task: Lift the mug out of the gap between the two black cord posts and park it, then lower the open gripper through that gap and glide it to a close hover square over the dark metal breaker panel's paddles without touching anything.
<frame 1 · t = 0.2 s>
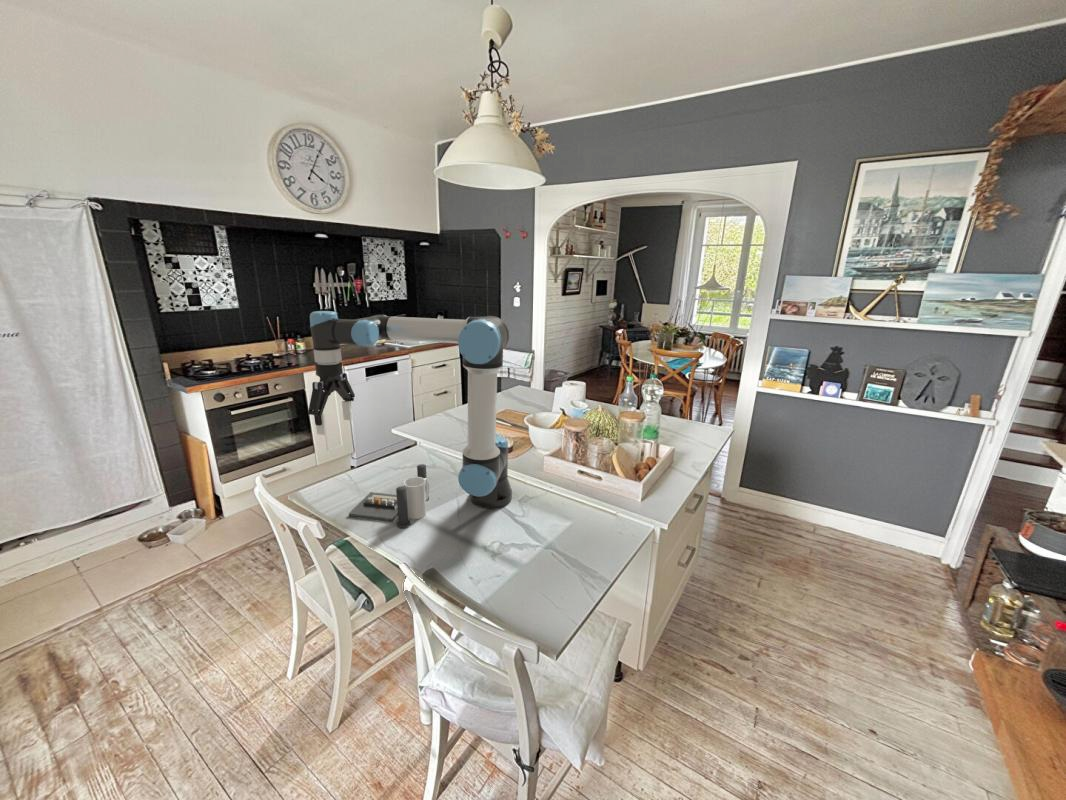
hand: (335, 426, 136), 28 cm above the table, fingers open, 13 cm apart
mug: (419, 512, 140), on the table
cord post 1: (423, 499, 148), on the table
breaker panel: (381, 507, 142), on the table
cord post 2: (403, 524, 133), on the table
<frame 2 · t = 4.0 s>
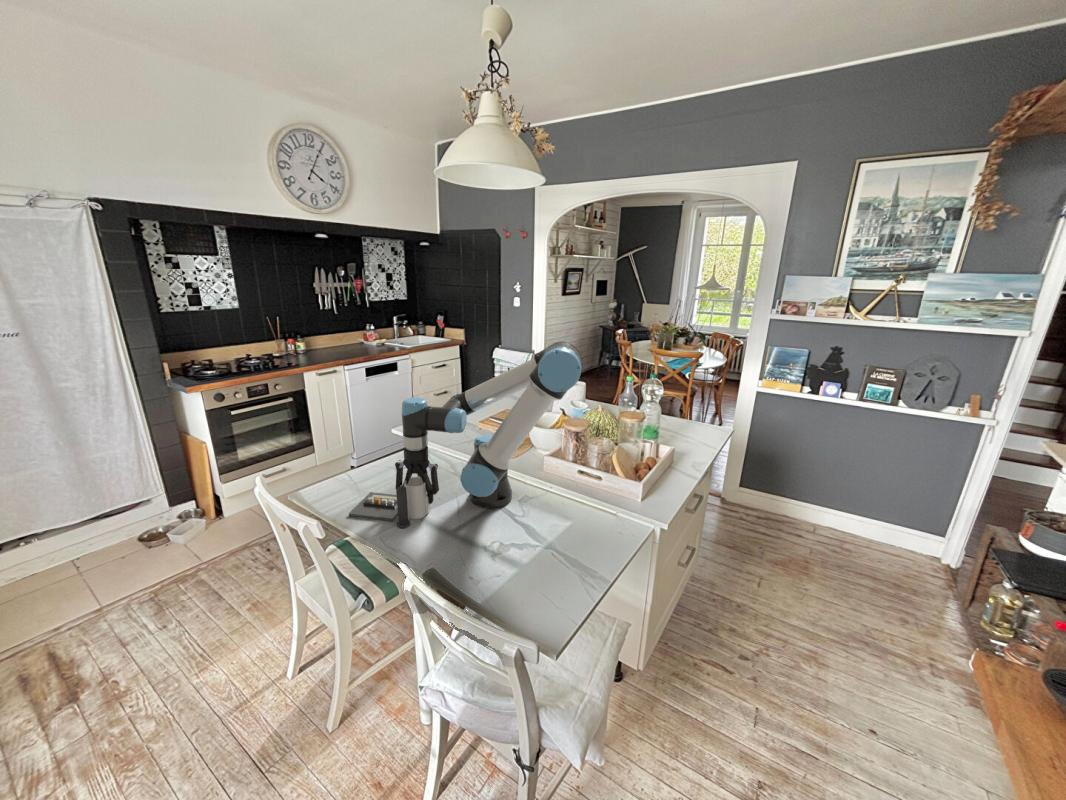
hand: (418, 509, 140), 1 cm above the table, fingers closed on mug, 6 cm apart
mug: (419, 512, 140), on the table, touching gripper
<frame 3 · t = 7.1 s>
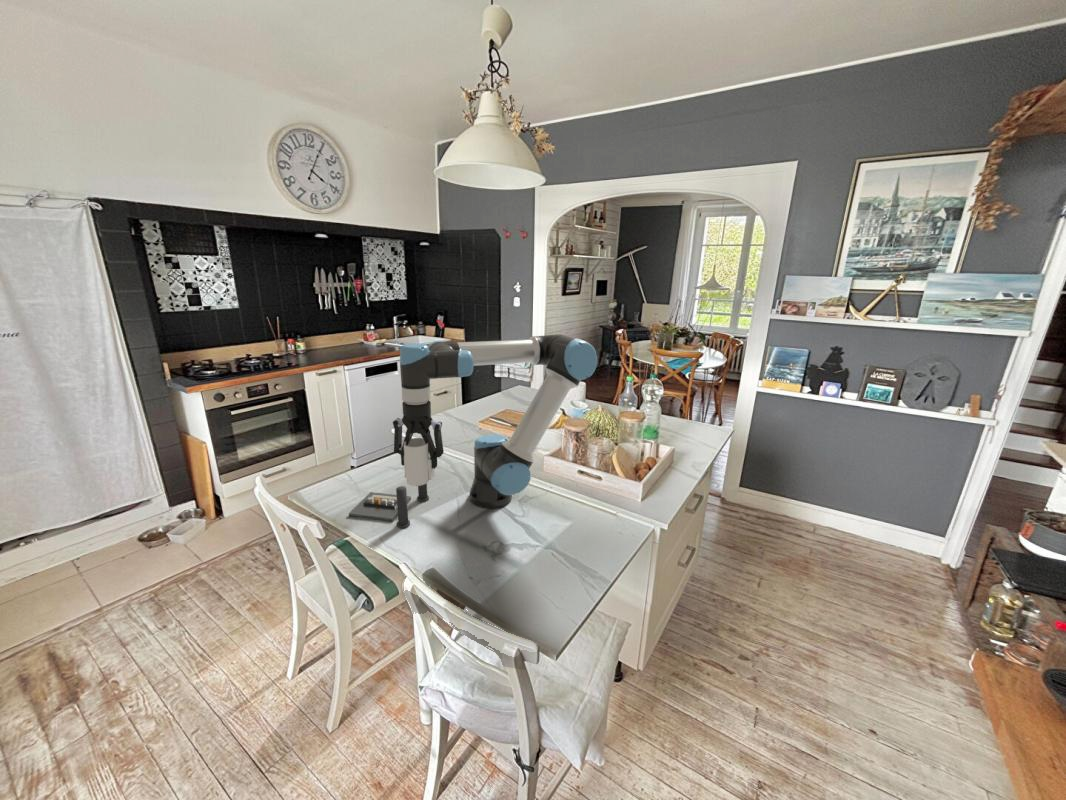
hand: (419, 476, 122), 20 cm above the table, fingers closed on mug, 6 cm apart
mug: (421, 479, 123), point 19 cm above the table, touching gripper
when the fingers open (2 cm above the table, at t = 10.0 s): mug drops 1 cm, on the table.
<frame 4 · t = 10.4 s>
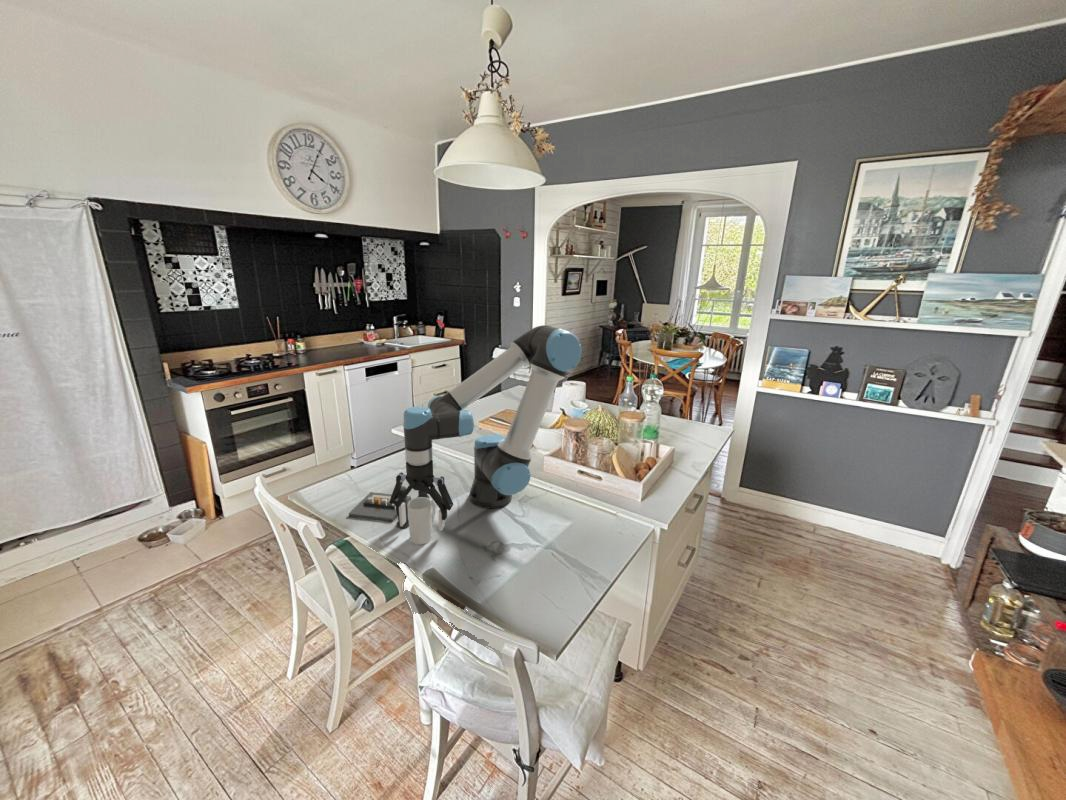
hand: (422, 526, 127), 3 cm above the table, fingers open, 11 cm apart
mug: (424, 536, 128), on the table
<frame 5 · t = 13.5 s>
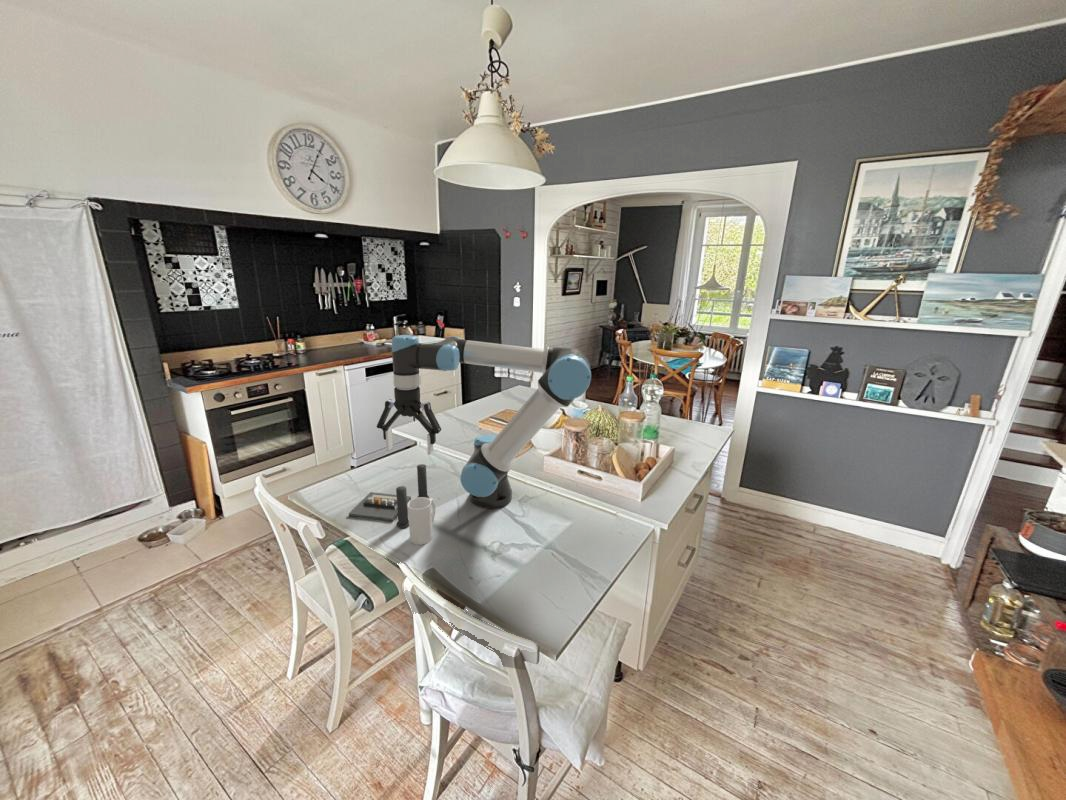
hand: (410, 451, 134), 22 cm above the table, fingers open, 13 cm apart
nothing on the table moved.
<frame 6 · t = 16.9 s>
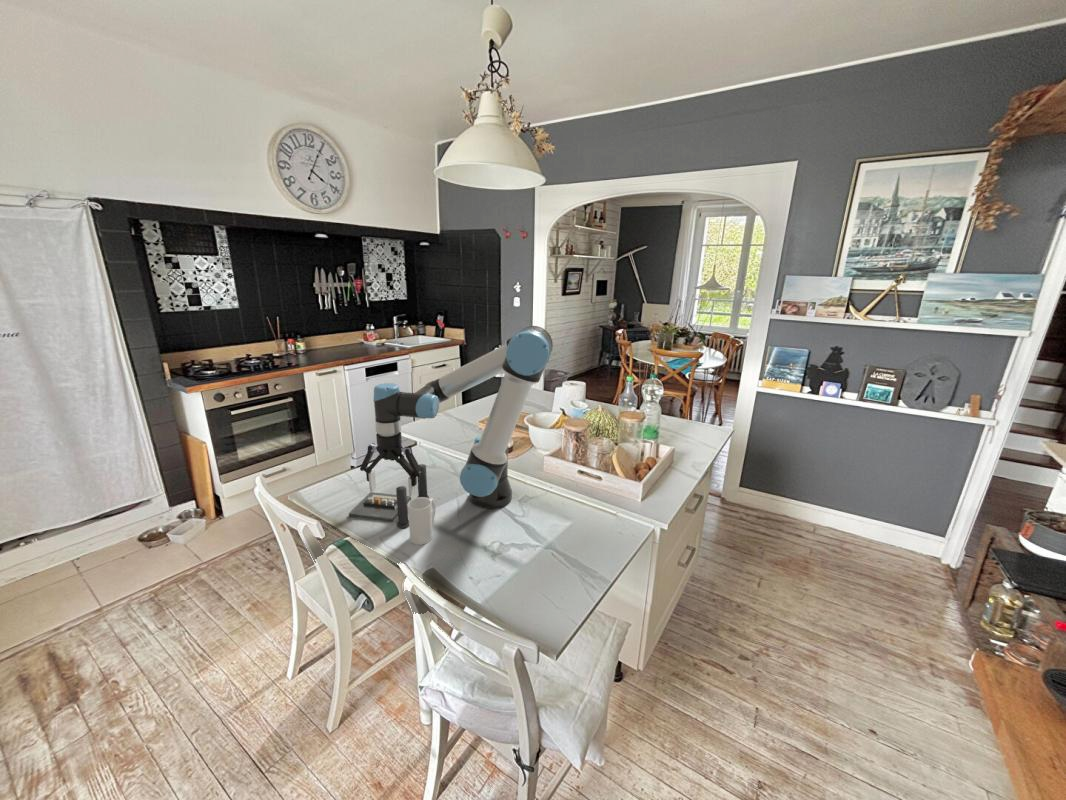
hand: (392, 492, 140), 6 cm above the table, fingers open, 13 cm apart
nothing on the table moved.
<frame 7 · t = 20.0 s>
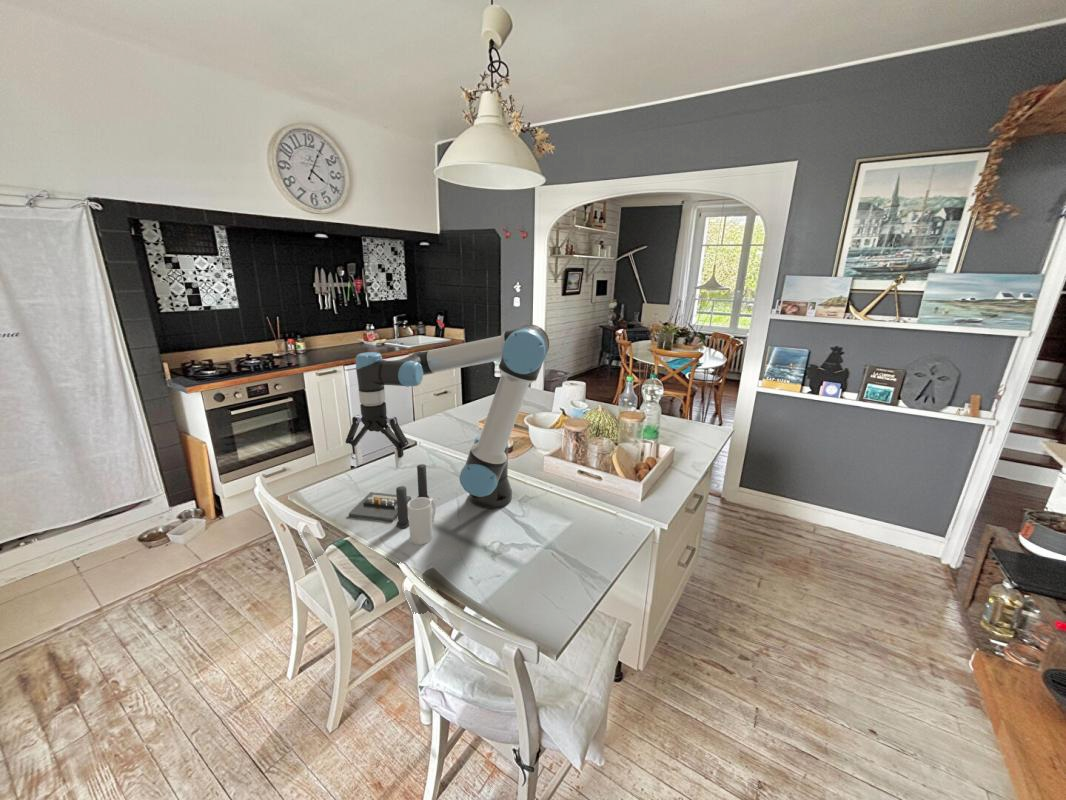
hand: (379, 464, 137), 16 cm above the table, fingers open, 13 cm apart
nothing on the table moved.
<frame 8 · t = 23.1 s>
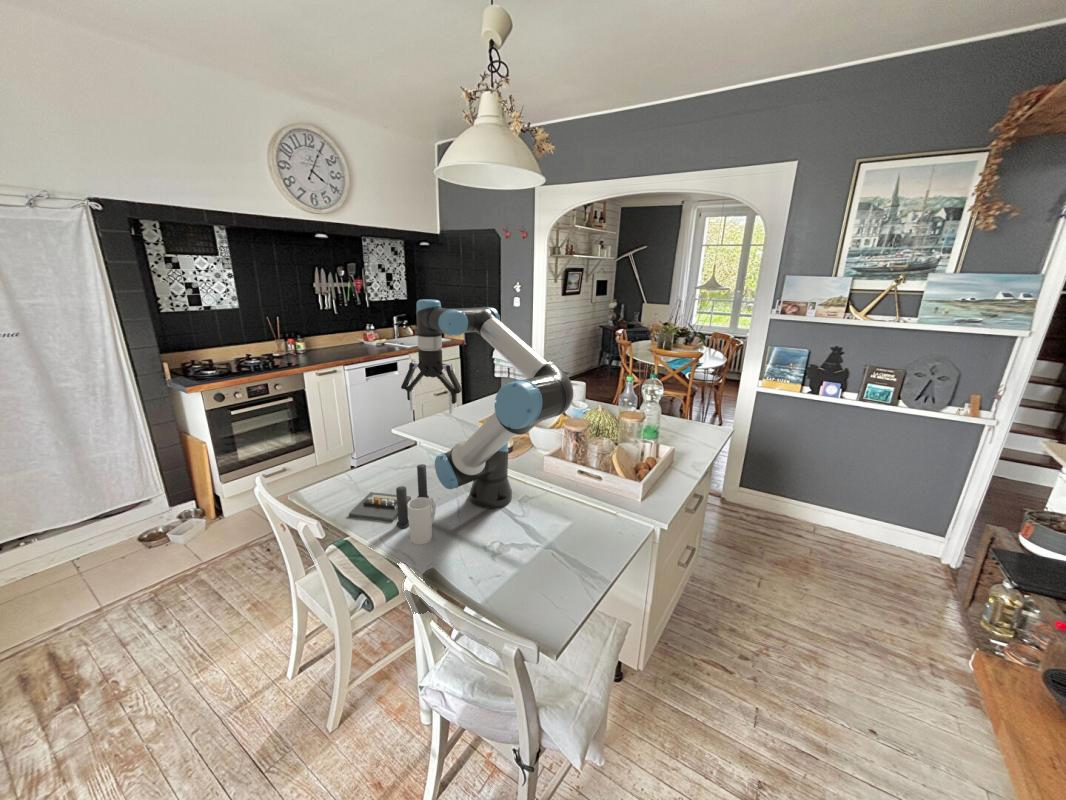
hand: (432, 411, 142), 32 cm above the table, fingers open, 13 cm apart
nothing on the table moved.
at the end: mug inside the target area (0.7 cm from its centre), on the table; mug tilted 0°; mug moved 13.8 cm from its start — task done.
